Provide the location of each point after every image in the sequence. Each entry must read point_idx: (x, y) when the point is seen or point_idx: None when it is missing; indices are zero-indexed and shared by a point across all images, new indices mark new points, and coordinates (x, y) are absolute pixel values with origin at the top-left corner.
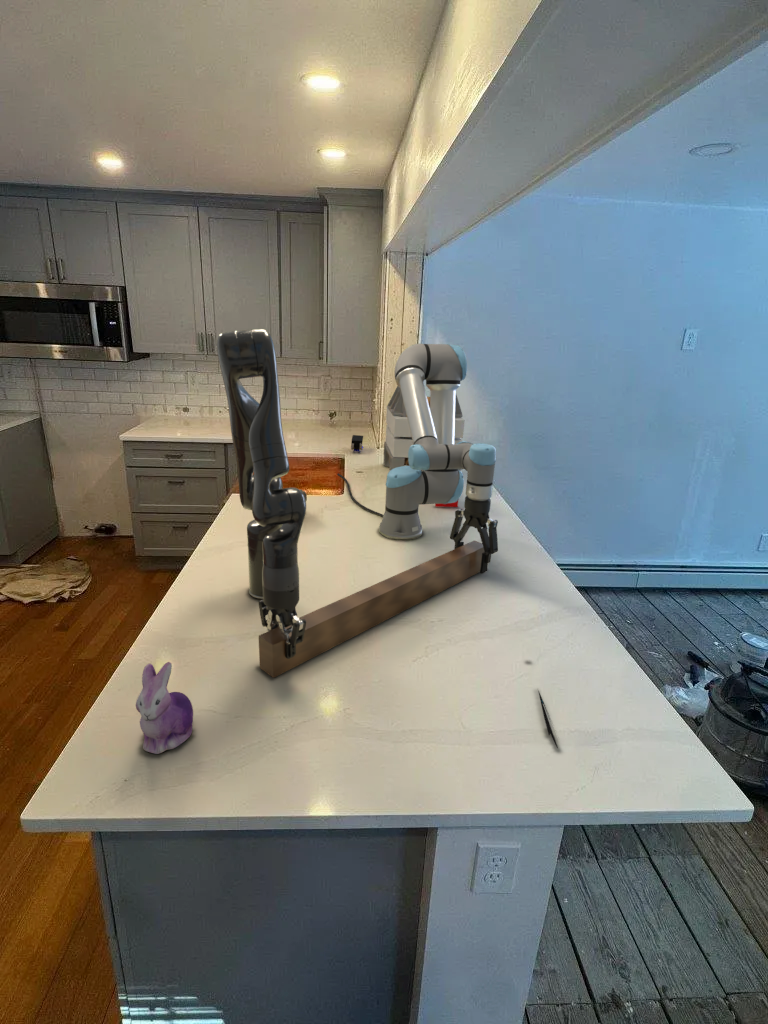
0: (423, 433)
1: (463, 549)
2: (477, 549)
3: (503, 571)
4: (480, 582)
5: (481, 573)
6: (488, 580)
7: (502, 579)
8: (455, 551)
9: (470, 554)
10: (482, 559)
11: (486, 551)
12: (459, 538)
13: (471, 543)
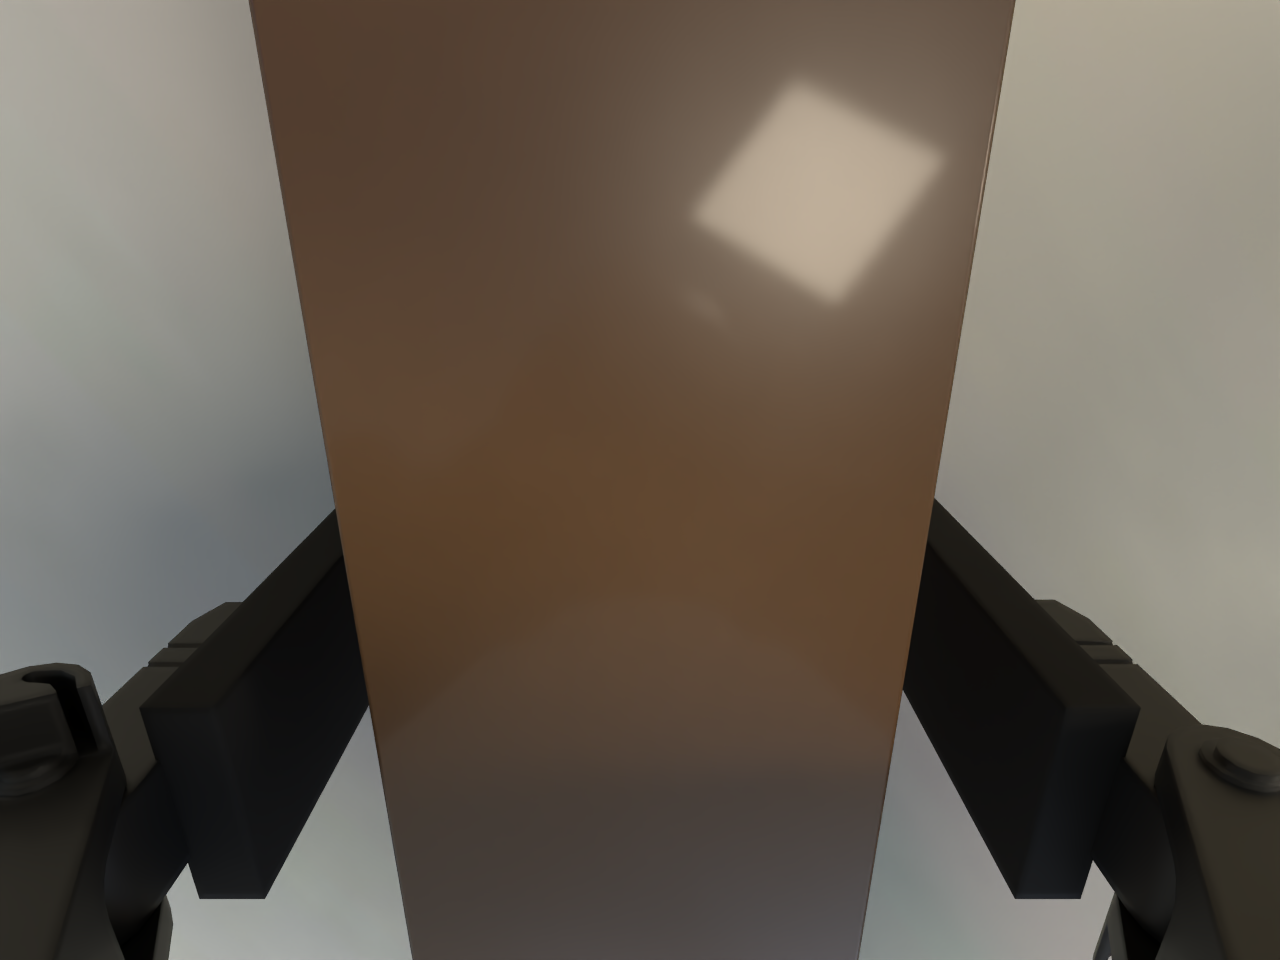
0: None
1: (700, 454)
2: (398, 765)
3: (347, 785)
4: (282, 300)
5: None
6: (265, 448)
7: (186, 609)
8: (820, 8)
9: (336, 367)
10: (271, 604)
11: (10, 788)
12: (1206, 892)
13: (783, 941)
